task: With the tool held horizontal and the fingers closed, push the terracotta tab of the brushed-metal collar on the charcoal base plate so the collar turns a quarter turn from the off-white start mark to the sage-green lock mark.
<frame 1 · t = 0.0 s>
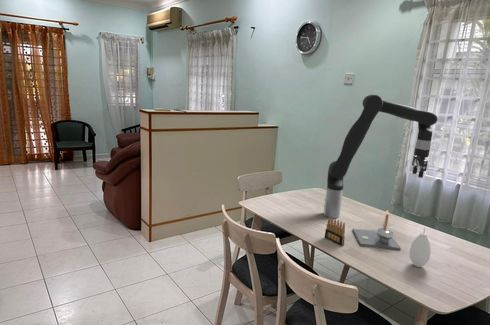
hand: (417, 175, 188), 29 cm above the table, tool pointing down, fingers open, 8 cm apart
twist collar: (386, 224, 166), point 9 cm above the table, hinge at 0.0°
lock base: (375, 239, 168), on the table
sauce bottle: (417, 266, 145), on the table
ammunition clip: (333, 241, 164), on the table
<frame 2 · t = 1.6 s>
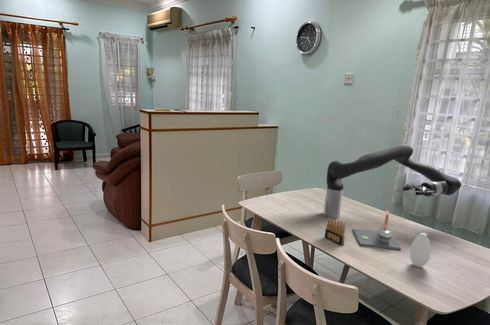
hand: (409, 191, 173), 24 cm above the table, tool horizontal, fingers open, 7 cm apart
nothing on the table moved.
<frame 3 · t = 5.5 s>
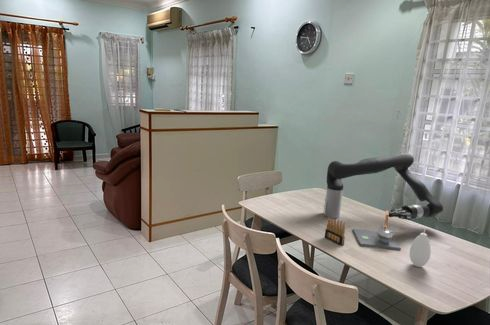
hand: (388, 214, 171), 12 cm above the table, tool horizontal, fingers closed
twist collar: (386, 224, 166), point 9 cm above the table, hinge at 0.0°, touching gripper
everything else where it was.
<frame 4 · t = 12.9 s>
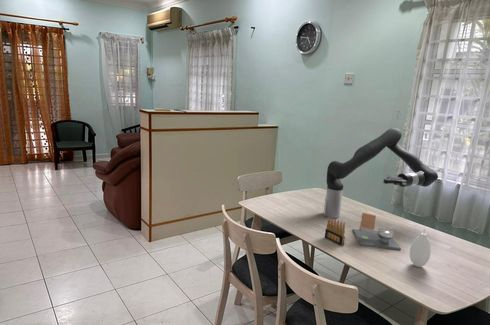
hand: (384, 181, 175), 28 cm above the table, tool horizontal, fingers closed
twist collar: (377, 225, 164), point 9 cm above the table, hinge at 84.8°
everything else where it was.
at the end: twist collar at +85° (first picture: +0°) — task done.
